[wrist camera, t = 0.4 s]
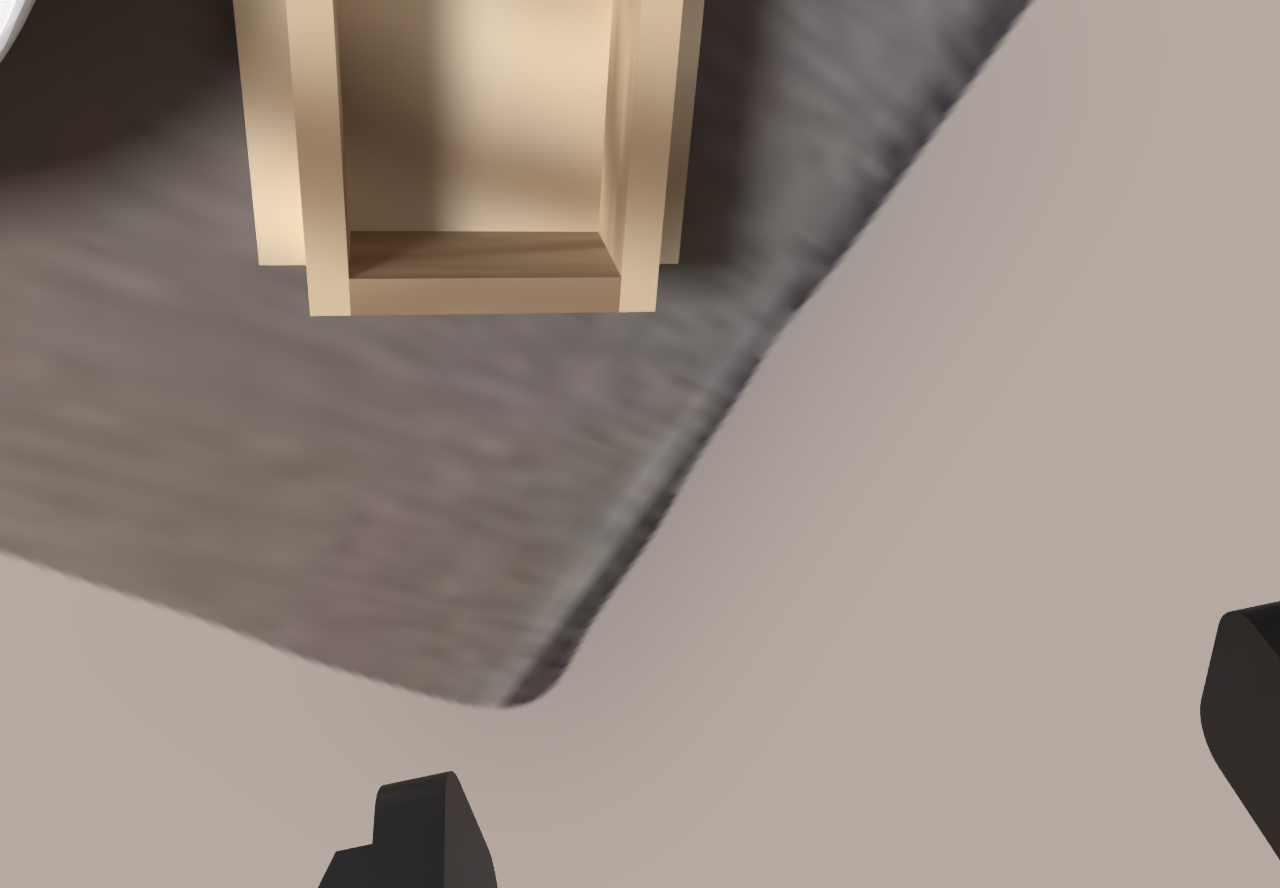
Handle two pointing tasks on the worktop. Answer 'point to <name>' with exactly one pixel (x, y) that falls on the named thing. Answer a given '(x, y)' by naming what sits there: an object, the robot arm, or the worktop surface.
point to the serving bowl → (12, 21)
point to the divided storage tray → (470, 150)
